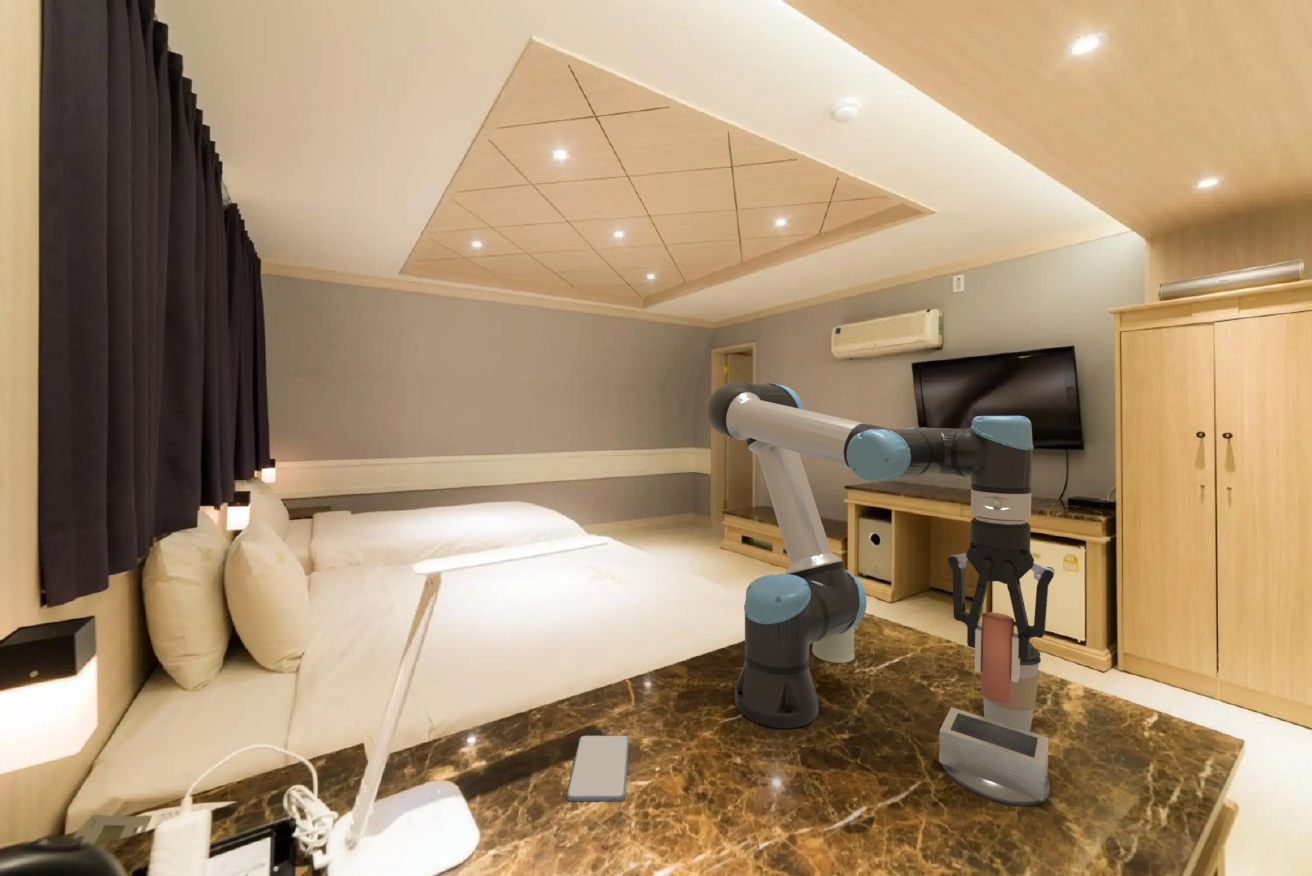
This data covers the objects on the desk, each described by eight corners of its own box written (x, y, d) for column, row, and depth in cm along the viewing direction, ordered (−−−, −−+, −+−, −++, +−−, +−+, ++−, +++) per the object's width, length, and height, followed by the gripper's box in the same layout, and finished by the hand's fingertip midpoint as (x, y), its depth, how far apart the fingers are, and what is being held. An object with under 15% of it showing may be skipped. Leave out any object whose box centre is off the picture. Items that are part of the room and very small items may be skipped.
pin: (978, 696, 80) (980, 618, 80) (983, 686, 83) (984, 610, 83) (1010, 706, 77) (1012, 624, 77) (1013, 694, 81) (1015, 616, 80)
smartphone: (629, 734, 90) (624, 797, 75) (629, 740, 90) (624, 803, 75) (579, 735, 90) (565, 797, 75) (579, 740, 90) (565, 804, 75)
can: (813, 660, 118) (814, 607, 117) (810, 643, 127) (811, 593, 126) (857, 665, 116) (858, 610, 115) (851, 647, 125) (852, 596, 124)
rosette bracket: (930, 776, 80) (931, 737, 80) (950, 733, 91) (951, 699, 91) (1045, 821, 71) (1047, 778, 71) (1052, 768, 82) (1053, 730, 82)
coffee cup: (1049, 741, 89) (1052, 652, 88) (989, 734, 91) (991, 648, 90) (1023, 711, 98) (1026, 630, 97) (969, 706, 100) (971, 627, 99)
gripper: (930, 516, 82) (928, 666, 83) (1071, 531, 71) (1067, 703, 72) (941, 509, 88) (939, 649, 89) (1073, 522, 77) (1069, 681, 78)
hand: (996, 673), depth 80 cm, fingers closed on pin, 4 cm apart
